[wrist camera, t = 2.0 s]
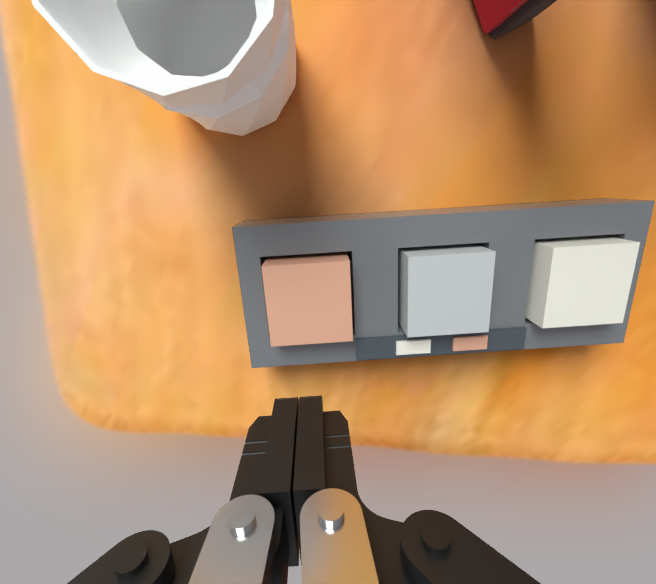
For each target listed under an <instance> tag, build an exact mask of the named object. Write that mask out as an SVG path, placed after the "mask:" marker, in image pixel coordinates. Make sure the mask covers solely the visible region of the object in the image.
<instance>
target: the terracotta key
mask: <svg viewBox="0 0 656 584" xmlns="http://www.w3.org/2000/svg"><path fill="white" fill-rule="evenodd" d="M261 268H262V276H263V284H264V293H265V301H266V310H267V318H268V326H269V335H270V343H271V347H274V346H289V345H304V344H318V343H333V342H348V341H353V328H352V302H351V277H350V260H349V258H348V255H347V253H346V252H331V253H315V254H299V255H284V256H268V257H267V259H266V260H265V262H264V263H263V265H262V266H261Z"/></svg>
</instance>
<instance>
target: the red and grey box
mask: <svg viewBox="0 0 656 584" xmlns="http://www.w3.org/2000/svg"><path fill="white" fill-rule="evenodd" d="M473 1H474V4H475V7H476V10H477V13H478V17H479V20H480V23H481V26H482V29H483V31H484V33H485V34H487V33H489V34H490V36H491V38H493V39H497V38H499V37H500V36H502V35H504V34H506V33H508V32H509V31H511V30H513V29H515V28H516V27H518V26H520V25H522V24H523V23H525V22H527V21H529V20H530V19H532V18H534V17H535V16H537V15H538V14H540V13H541V12H542V11H544V10H545V9H546V8H547V7H549V6H550V5H551V4H553V3H554V2H555V1H557V0H473Z"/></svg>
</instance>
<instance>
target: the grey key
mask: <svg viewBox="0 0 656 584" xmlns="http://www.w3.org/2000/svg"><path fill="white" fill-rule="evenodd" d="M495 256H496V251H493V250H491V249H488V248H485V247H483V246H480V245H478V244H475V243H472V244H457V245H441V246H425V247H409V248H398V322H399V324H400V326H401V327H402V329H403V331H404V333H405V334H406V336H407V337H422V336H437V335H452V334H467V333H482V332H489V323H490V311H491V300H492V289H493V278H494V267H495Z"/></svg>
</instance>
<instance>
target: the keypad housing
mask: <svg viewBox="0 0 656 584" xmlns="http://www.w3.org/2000/svg"><path fill="white" fill-rule="evenodd" d="M653 206H654V201H648V200H628V199H609V198H602V199H585V200H569V201H553V202H537V203H521V204H505V205H489V206H473V207H457V208H441V209H425V210H408V211H392V212H376V213H360V214H344V215H328V216H312V217H296V218H280V219H264V220H247V221H243V222H241V223H239V224H237V225H235V226H233V227H232V230H233V237H234V244H235V252H236V259H237V266H238V273H239V280H240V287H241V294H242V301H243V308H244V316H245V323H246V330H247V337H248V344H249V351H250V358H251V365H252V368H259V367H273V366H288V365H303V364H317V363H332V362H347V361H361V360H376V359H391V358H405V357H420V356H435V355H449V354H464V353H479V352H493V351H508V350H522V349H537V348H552V347H566V346H581V345H596V344H610V343H623V342H624V337H625V333H626V328H627V324H628V319H629V315H630V310H631V306H632V301H633V296H634V292H635V287H636V283H637V278H638V274H639V269H640V265H641V260H642V256H643V251H644V247H645V242H646V238H647V233H648V228H649V224H650V219H651V215H652V210H653ZM598 235H603V236H609V237H614V238H620V239H625V240H631V241H636V242H640V245H639V250H638V255H637V259H636V264H635V269H634V273H633V278H632V282H631V287H630V292H629V296H628V301H627V306H626V310H625V315H624V319H623V323H615V324H600V325H585V326H571V327H556V328H541V327H540V326H538V325H536V324H535V323H533V322H532V321H530V320H529V319H527V318H525V315H526V307H527V299H528V291H529V283H530V275H531V267H532V259H533V250H534V242H535V239H551V238H566V237H582V236H598ZM472 243H475V244H478V245H480V246H483V247H485V248H488V249H491V250H493V251H496V256H495V267H494V278H493V289H492V300H491V311H490V323H489V332H482V333H467V334H452V335H437V336H422V337H407V336H406V334H405V333H404V331H403V329H402V327H401V326H400V324H399V322H398V248H409V247H425V246H441V245H457V244H472ZM331 252H346V253H347V255H348V258H349V260H350V277H351V302H352V328H353V341H348V342H333V343H318V344H304V345H289V346H274V347H271V343H270V335H269V326H268V318H267V310H266V301H265V293H264V284H263V276H262V268H261V266H262V265H263V263H264V262H265V260H266V259H267V257H268V256H284V255H299V254H315V253H331Z"/></svg>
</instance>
